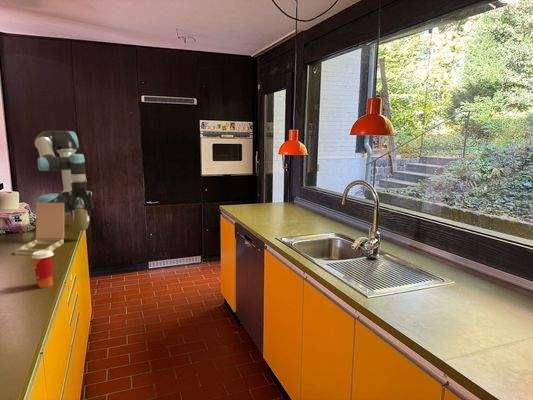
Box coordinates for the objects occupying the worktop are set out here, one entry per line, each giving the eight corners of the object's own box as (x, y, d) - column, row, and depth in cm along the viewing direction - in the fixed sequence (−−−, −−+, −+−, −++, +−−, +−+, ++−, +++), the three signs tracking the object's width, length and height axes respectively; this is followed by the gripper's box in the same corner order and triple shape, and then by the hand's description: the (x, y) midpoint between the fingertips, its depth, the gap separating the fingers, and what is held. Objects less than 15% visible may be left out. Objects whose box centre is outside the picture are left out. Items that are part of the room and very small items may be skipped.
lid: (35, 238, 209) (37, 238, 211) (63, 238, 210) (64, 238, 212) (36, 202, 209) (37, 202, 211) (63, 202, 210) (64, 202, 212)
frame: (36, 243, 210) (35, 239, 209) (63, 243, 211) (63, 239, 210) (14, 254, 190) (14, 250, 190) (45, 254, 191) (44, 249, 191)
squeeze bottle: (83, 231, 211) (81, 200, 208) (70, 230, 213) (68, 199, 210) (92, 228, 219) (90, 198, 216) (80, 227, 220) (78, 197, 217)
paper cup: (40, 281, 156) (37, 249, 153) (59, 281, 156) (56, 249, 154) (30, 289, 148) (27, 255, 146) (50, 288, 149) (47, 255, 146)
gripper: (57, 182, 207) (61, 222, 211) (93, 182, 208) (96, 222, 212) (64, 180, 214) (67, 219, 218) (98, 180, 216) (101, 219, 219)
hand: (81, 221), depth 215 cm, fingers closed on squeeze bottle, 6 cm apart
